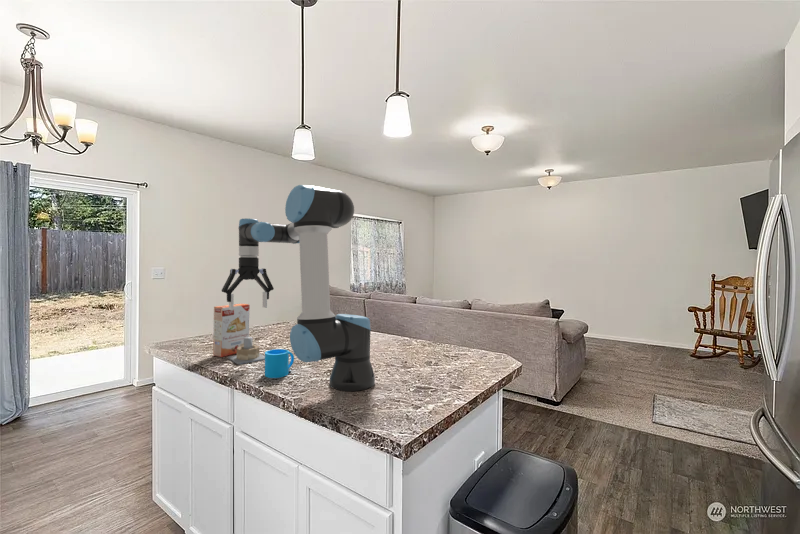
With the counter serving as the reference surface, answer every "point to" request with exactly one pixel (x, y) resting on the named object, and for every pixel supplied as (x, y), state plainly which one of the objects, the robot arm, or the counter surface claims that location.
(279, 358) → the mug
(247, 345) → the post plate
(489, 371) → the counter surface
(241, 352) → the ring
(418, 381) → the counter surface
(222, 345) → the cracker box
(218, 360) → the counter surface
